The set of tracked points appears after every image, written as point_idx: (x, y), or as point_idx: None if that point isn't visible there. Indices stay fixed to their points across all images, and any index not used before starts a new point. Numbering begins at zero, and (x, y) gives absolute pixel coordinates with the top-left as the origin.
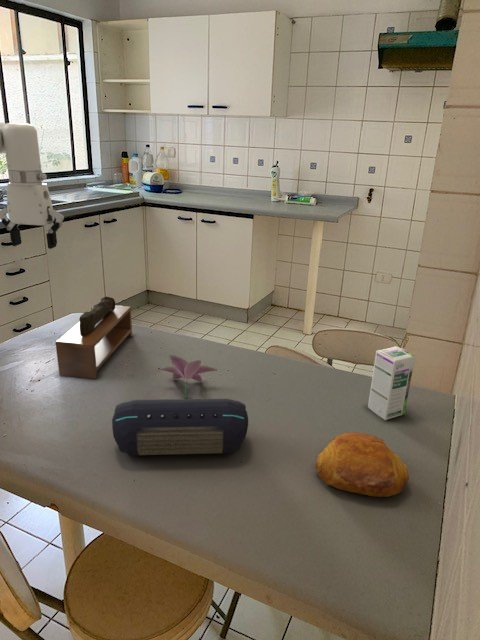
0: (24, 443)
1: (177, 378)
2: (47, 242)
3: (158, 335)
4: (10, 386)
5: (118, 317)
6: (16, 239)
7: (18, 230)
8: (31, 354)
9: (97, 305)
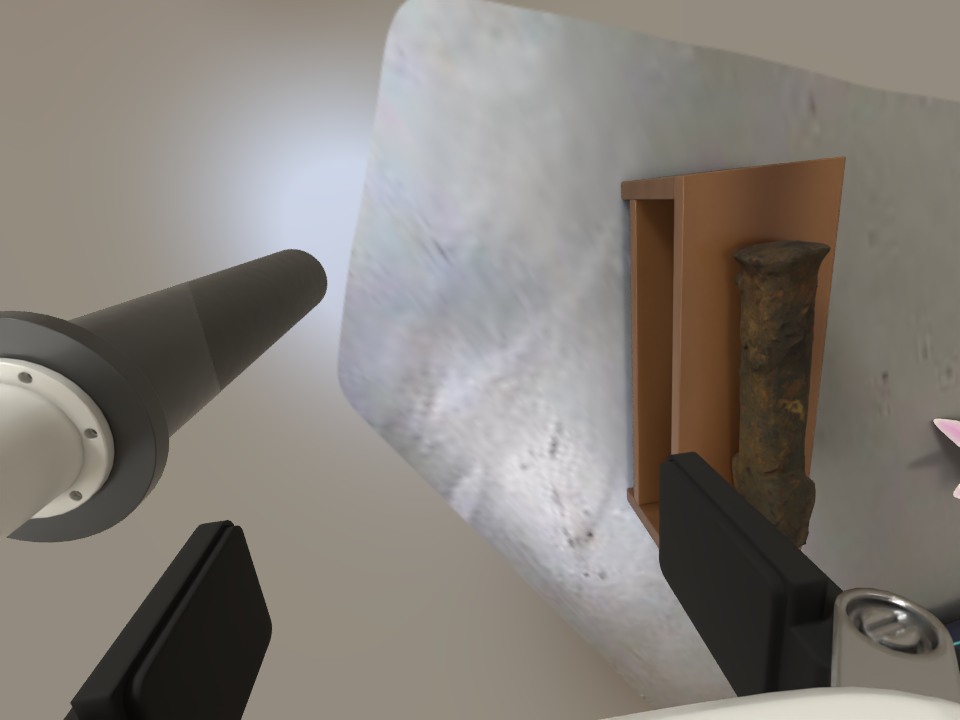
0: (688, 701)
1: (948, 423)
2: (694, 620)
3: (845, 129)
4: (538, 578)
5: (823, 314)
6: (237, 656)
7: (157, 709)
8: (474, 425)
9: (781, 368)
